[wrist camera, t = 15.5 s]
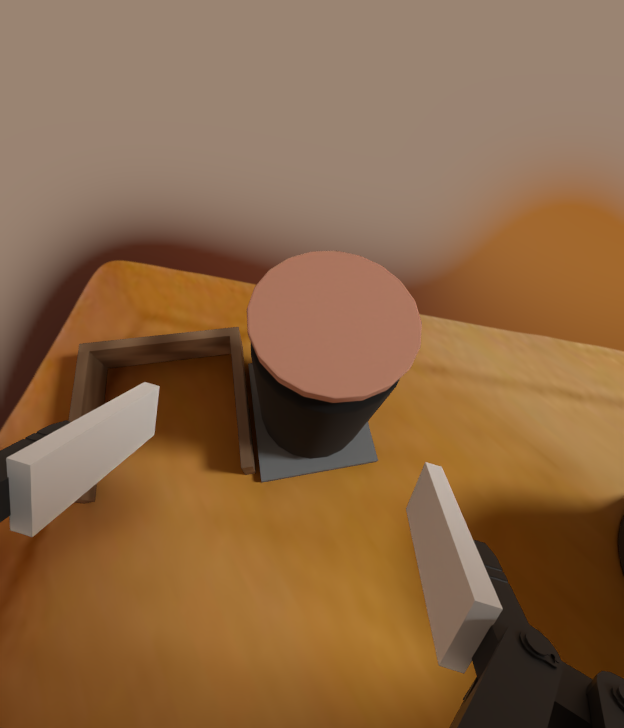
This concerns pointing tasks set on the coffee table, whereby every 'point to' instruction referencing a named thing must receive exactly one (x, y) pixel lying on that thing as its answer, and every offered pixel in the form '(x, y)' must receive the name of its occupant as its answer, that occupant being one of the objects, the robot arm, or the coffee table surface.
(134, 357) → the walnut holder
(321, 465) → the charcoal mat
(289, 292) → the coffee jar
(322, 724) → the coffee table surface
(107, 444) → the robot arm
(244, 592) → the coffee table surface
